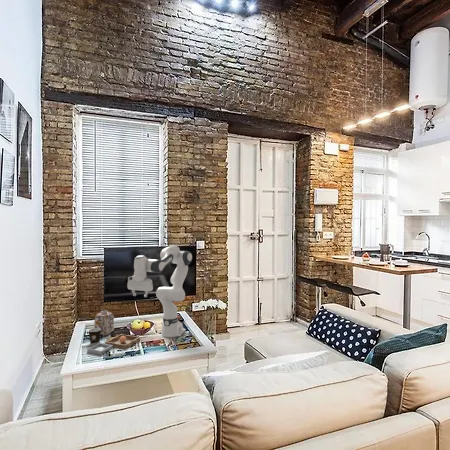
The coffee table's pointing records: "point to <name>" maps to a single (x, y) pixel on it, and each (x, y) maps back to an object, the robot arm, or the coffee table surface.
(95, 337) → the coffee mug
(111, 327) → the decorative jar
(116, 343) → the brown wooden tray
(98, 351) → the tray
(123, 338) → the ball
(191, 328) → the coffee table surface
